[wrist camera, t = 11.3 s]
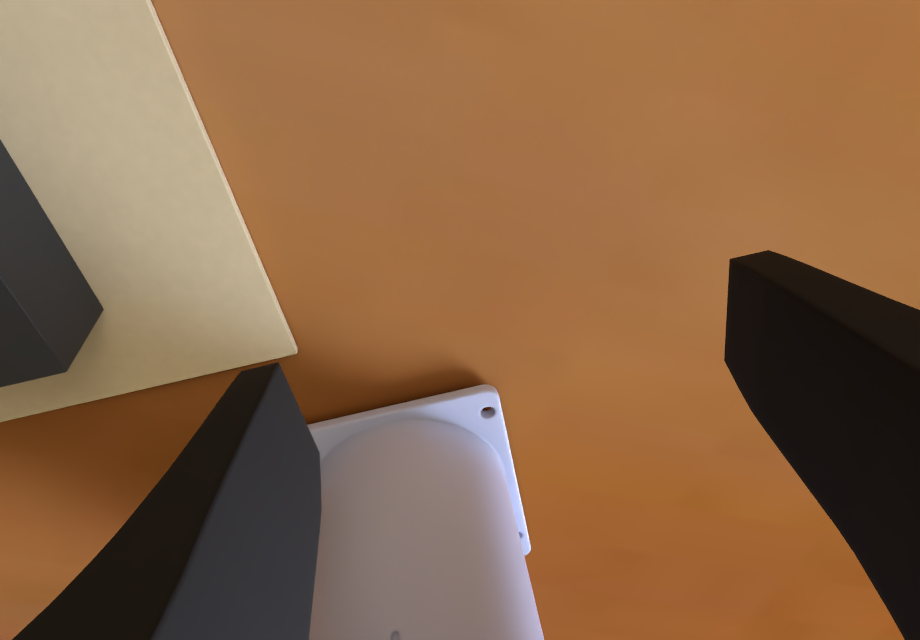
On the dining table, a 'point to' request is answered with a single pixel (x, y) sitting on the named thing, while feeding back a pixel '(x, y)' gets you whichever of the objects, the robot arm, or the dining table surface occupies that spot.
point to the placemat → (129, 202)
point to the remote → (37, 287)
